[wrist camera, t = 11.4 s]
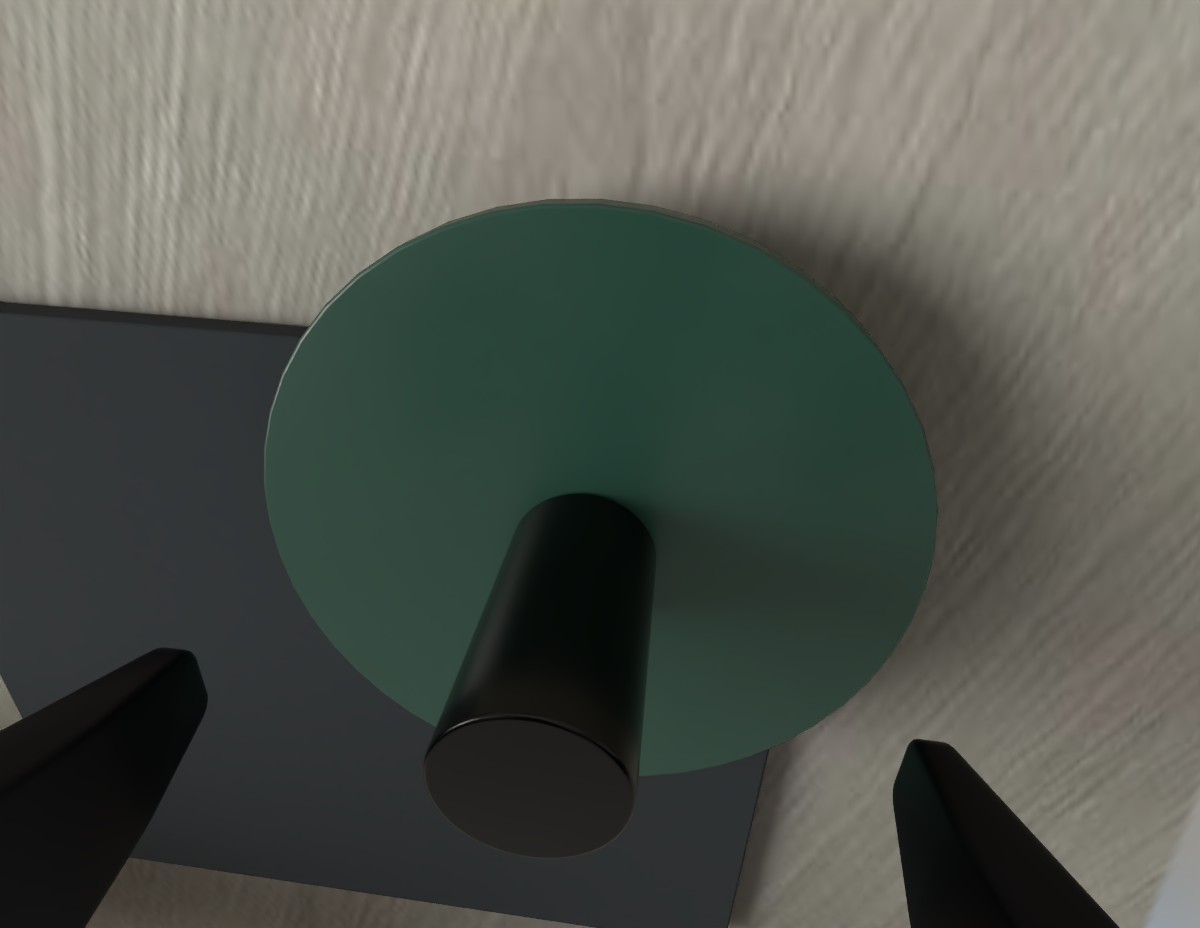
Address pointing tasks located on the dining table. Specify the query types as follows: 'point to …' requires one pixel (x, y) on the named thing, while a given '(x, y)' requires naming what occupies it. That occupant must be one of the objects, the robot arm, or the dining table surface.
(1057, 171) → the dining table surface
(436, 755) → the tin lid
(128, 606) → the mat
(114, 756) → the robot arm
